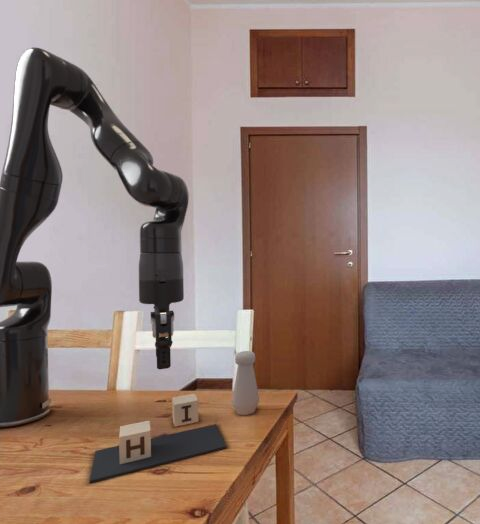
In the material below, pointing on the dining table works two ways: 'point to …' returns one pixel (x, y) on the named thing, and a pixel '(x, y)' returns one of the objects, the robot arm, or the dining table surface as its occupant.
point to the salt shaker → (245, 384)
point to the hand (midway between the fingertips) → (162, 362)
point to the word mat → (158, 452)
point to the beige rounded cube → (134, 442)
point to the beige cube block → (185, 409)
